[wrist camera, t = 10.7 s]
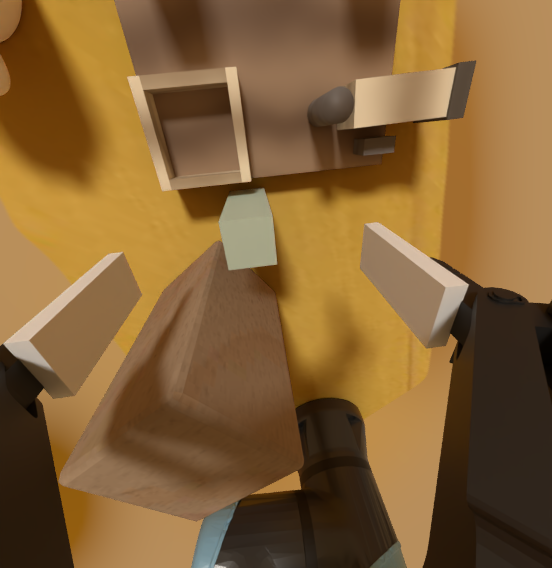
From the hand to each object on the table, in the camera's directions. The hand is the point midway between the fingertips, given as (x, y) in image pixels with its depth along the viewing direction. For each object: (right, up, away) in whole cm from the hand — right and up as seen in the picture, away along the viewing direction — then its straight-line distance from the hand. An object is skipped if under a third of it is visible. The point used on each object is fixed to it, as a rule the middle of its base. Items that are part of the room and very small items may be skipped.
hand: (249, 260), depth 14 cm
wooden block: (-5, -2, +17) cm, 18 cm away
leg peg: (-1, +7, +12) cm, 14 cm away
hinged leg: (+11, +14, +7) cm, 19 cm away
